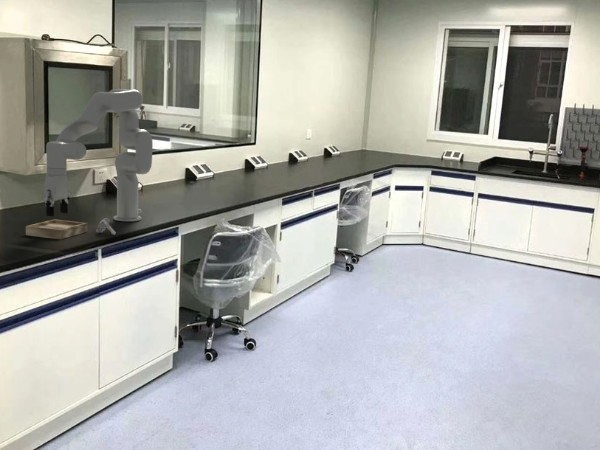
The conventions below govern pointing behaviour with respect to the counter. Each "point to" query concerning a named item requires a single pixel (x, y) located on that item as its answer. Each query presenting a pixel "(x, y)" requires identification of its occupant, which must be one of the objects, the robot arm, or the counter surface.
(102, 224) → the stand
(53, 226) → the beech platter
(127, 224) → the counter surface
